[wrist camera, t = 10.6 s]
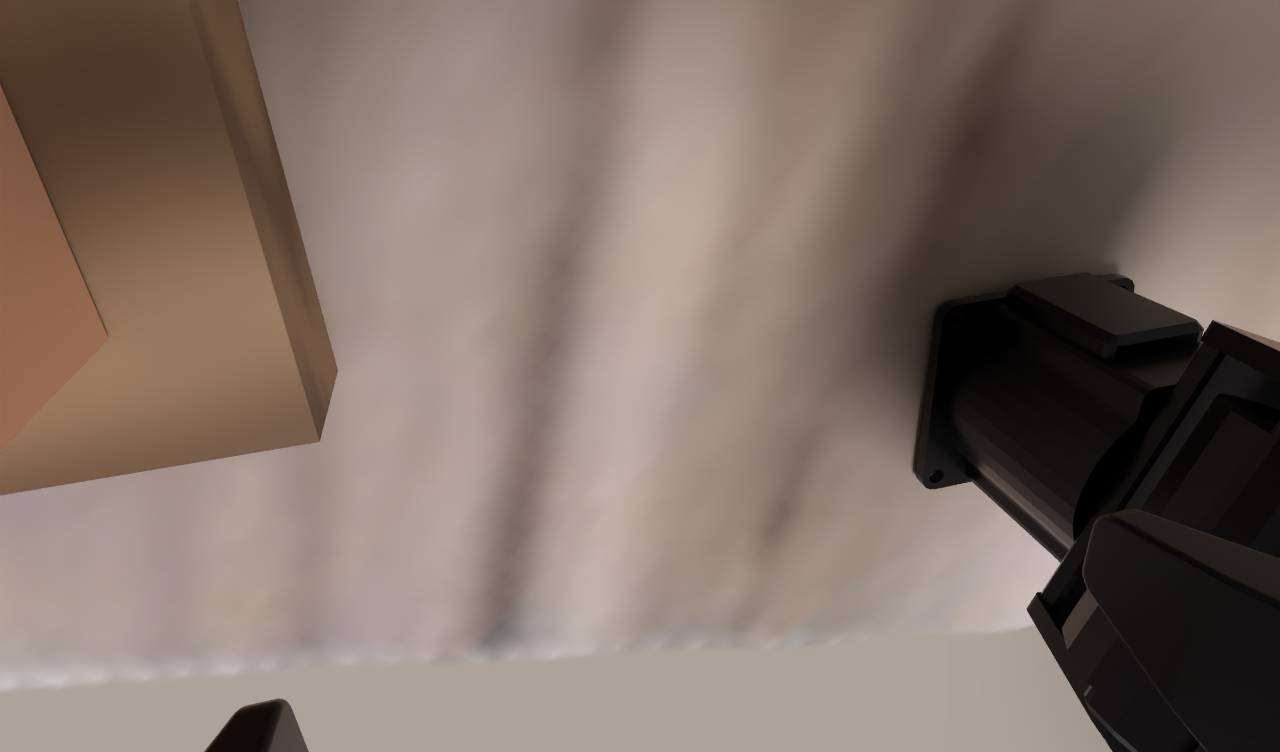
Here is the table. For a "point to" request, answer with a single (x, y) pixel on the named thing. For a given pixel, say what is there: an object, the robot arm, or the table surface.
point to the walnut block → (164, 240)
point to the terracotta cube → (36, 291)
